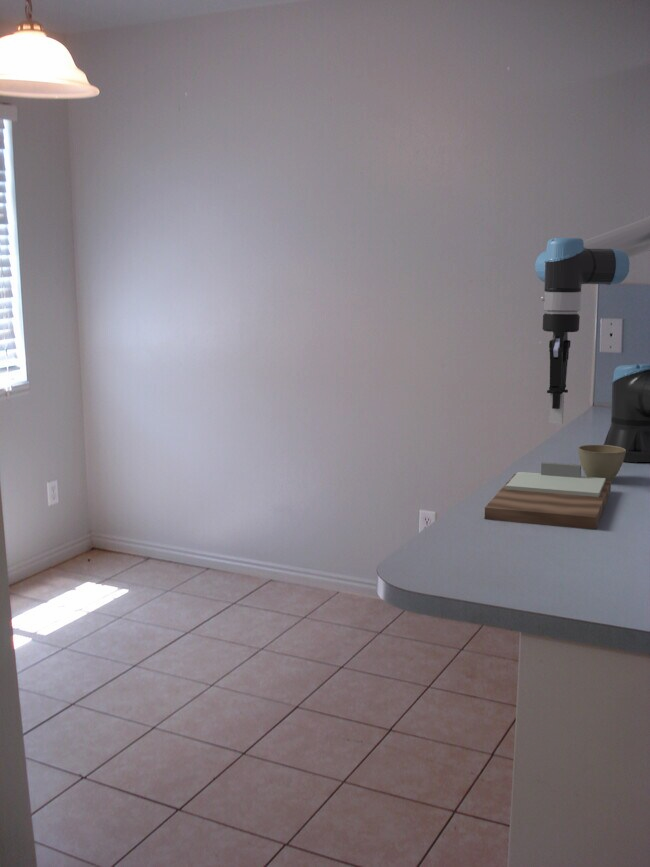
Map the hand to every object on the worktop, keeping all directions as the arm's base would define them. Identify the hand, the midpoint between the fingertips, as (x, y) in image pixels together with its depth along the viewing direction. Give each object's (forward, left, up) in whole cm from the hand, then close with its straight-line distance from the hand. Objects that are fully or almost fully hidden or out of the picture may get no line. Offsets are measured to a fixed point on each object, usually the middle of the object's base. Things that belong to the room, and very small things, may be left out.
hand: (555, 423), depth 203 cm
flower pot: (-11, +4, -13) cm, 18 cm away
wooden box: (+14, +13, -13) cm, 23 cm away
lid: (+9, +9, -11) cm, 17 cm away
